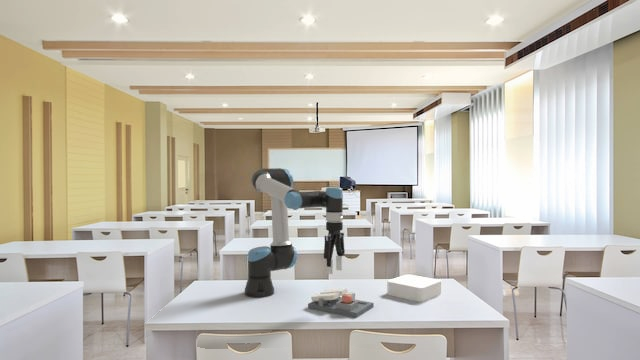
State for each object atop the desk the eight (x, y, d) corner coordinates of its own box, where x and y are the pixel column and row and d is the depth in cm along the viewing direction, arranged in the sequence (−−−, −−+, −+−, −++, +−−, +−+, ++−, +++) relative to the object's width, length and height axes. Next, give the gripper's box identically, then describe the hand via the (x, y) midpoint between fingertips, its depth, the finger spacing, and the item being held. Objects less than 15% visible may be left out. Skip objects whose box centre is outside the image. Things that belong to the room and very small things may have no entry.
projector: (444, 293, 219) (444, 279, 219) (422, 302, 203) (422, 288, 203) (408, 286, 233) (408, 273, 233) (385, 294, 217) (385, 281, 217)
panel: (307, 308, 194) (307, 297, 194) (327, 298, 209) (327, 288, 209) (356, 317, 181) (356, 306, 181) (373, 307, 196) (373, 296, 195)
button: (340, 304, 188) (340, 295, 188) (345, 301, 192) (345, 293, 192) (349, 305, 185) (349, 297, 185) (354, 302, 189) (354, 294, 189)
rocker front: (311, 301, 196) (311, 296, 196) (317, 298, 200) (316, 294, 200) (333, 299, 189) (333, 295, 189) (339, 297, 194) (338, 292, 194)
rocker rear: (320, 297, 202) (320, 292, 202) (326, 294, 207) (325, 290, 207) (342, 295, 196) (341, 291, 196) (347, 292, 200) (346, 288, 201)
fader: (348, 300, 197) (348, 293, 197) (351, 299, 199) (351, 292, 199) (352, 301, 196) (352, 294, 196) (355, 299, 198) (355, 292, 198)
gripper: (330, 224, 181) (330, 277, 181) (352, 219, 198) (352, 268, 199) (315, 223, 185) (315, 275, 185) (338, 219, 202) (338, 266, 203)
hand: (334, 271), depth 192 cm, fingers open, 8 cm apart
